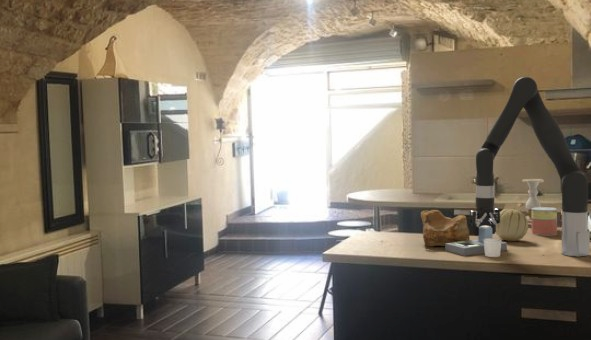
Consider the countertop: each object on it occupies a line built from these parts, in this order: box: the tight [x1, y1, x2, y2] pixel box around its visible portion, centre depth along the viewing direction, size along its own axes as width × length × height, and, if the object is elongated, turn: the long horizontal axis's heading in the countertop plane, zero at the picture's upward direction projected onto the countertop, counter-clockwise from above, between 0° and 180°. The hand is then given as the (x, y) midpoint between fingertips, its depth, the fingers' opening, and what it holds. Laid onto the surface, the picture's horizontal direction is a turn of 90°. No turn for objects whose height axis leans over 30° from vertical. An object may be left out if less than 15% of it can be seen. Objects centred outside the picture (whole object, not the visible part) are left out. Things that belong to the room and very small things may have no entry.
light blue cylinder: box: [477, 224, 493, 243], centre depth 251 cm, size 4×4×10 cm
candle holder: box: [521, 178, 545, 229], centre depth 306 cm, size 11×11×24 cm
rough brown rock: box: [420, 209, 471, 248], centre depth 262 cm, size 23×17×15 cm
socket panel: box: [444, 239, 508, 257], centre depth 249 cm, size 12×22×4 cm, turn 113°
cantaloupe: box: [495, 207, 529, 242], centre depth 269 cm, size 15×15×15 cm
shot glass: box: [483, 237, 502, 258], centre depth 238 cm, size 7×7×7 cm
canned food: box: [531, 206, 558, 237], centre depth 285 cm, size 11×11×12 cm
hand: (484, 234), depth 251 cm, fingers open, 8 cm apart
